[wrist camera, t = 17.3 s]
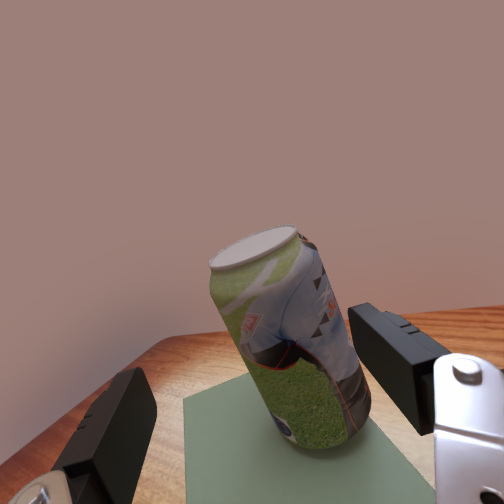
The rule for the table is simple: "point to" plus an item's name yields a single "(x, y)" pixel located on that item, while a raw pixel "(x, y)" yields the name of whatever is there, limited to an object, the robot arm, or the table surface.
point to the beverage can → (291, 336)
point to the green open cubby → (285, 458)
